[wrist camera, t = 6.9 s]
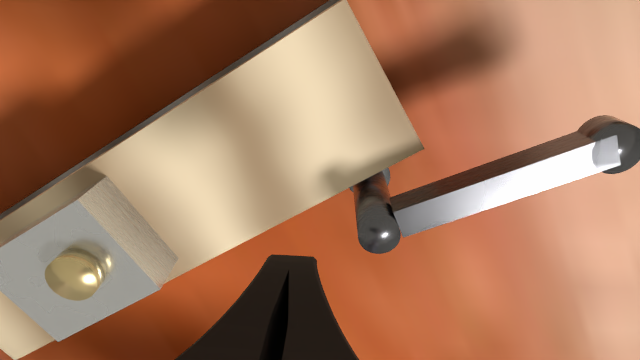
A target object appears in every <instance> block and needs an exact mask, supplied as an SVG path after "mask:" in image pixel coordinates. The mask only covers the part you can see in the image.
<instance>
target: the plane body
mask: <svg viewBox="0 0 640 360" xmlns="http://www.w3.org/2000/svg"><path fill="white" fill-rule="evenodd" d="M423 149H424V147H423V145H422V143H421V141H420V140H419V138H418V136H417V134H416V132H415V130H414V128H413V126H412V124H411V122H410V120H409V119H408V117H407V115H406V113H405V111H404V109H403V107H402V105H401V103H400V101H399V99H398V98H397V96H396V94H395V92H394V90H393V88H392V86H391V84H390V82H389V80H388V78H387V77H386V75H385V73H384V71H383V69H382V67H381V65H380V63H379V61H378V59H377V57H376V56H375V54H374V52H373V50H372V48H371V46H370V44H369V42H368V40H367V38H366V37H365V35H364V33H363V31H362V29H361V27H360V25H359V23H358V21H357V19H356V17H355V16H354V14H353V12H352V10H351V8H350V6H349V4H348V2H347V0H329V1H328V2H326V3H325V4H323V5H322V6H320V7H319V8H317V9H316V10H314V11H313V12H311V13H309V14H308V15H306V16H305V17H303V18H302V19H300V20H299V21H297V22H296V23H294V24H292V25H291V26H289V27H288V28H286V29H285V30H283V31H282V32H280V33H279V34H277V35H276V36H274V37H272V38H271V39H269V40H268V41H266V42H265V43H263V44H262V45H260V46H259V47H257V48H256V49H254V50H252V51H251V52H249V53H248V54H246V55H245V56H243V57H242V58H240V59H239V60H237V61H236V62H234V63H232V64H231V65H229V66H228V67H226V68H225V69H223V70H222V71H220V72H219V73H217V74H216V75H214V76H212V77H211V78H209V79H208V80H206V81H205V82H203V83H202V84H200V85H199V86H197V87H196V88H194V89H192V90H191V91H189V92H188V93H186V94H185V95H183V96H182V97H180V98H179V99H177V100H176V101H174V102H172V103H171V104H169V105H168V106H166V107H165V108H163V109H162V110H160V111H159V112H157V113H156V114H154V115H152V116H151V117H149V118H148V119H146V120H145V121H143V122H142V123H140V124H139V125H137V126H136V127H134V128H132V129H131V130H129V131H128V132H126V133H125V134H123V135H122V136H120V137H119V138H117V139H115V140H114V141H112V142H111V143H109V144H108V145H106V146H105V147H103V148H102V149H100V150H99V151H97V152H95V153H94V154H92V155H91V156H89V157H88V158H86V159H85V160H83V161H82V162H80V163H79V164H77V165H75V166H74V167H72V168H71V169H69V170H68V171H66V172H65V173H63V174H62V175H60V176H59V177H57V178H55V179H54V180H52V181H51V182H49V183H48V184H46V185H45V186H43V187H42V188H40V189H39V190H37V191H35V192H34V193H32V194H31V195H29V196H28V197H26V198H25V199H23V200H22V201H20V202H19V203H17V204H15V205H14V206H12V207H11V208H9V209H8V210H6V211H5V212H3V213H2V214H0V244H1V243H2V242H3V241H5V240H6V239H7V238H9V237H10V236H12V235H13V234H15V233H16V232H18V231H20V230H21V229H23V228H24V227H26V226H28V225H29V224H31V223H32V222H34V221H36V220H37V219H39V218H40V217H42V216H44V215H45V214H47V213H48V212H50V211H52V210H53V209H55V208H56V207H58V206H60V205H61V204H63V203H64V202H66V201H68V200H69V199H71V198H72V197H74V196H76V195H77V194H79V193H80V192H82V191H84V190H85V189H87V188H88V187H90V186H92V185H93V184H95V183H96V182H98V181H100V180H101V179H103V178H104V177H106V176H107V177H108V178H109V179H110V180H111V181H112V182H113V183H114V185H115V186H116V187H117V188H118V189H119V190H120V191H121V193H122V194H123V195H124V196H125V197H126V198H127V199H128V201H129V202H130V203H131V204H132V205H133V206H134V207H135V209H136V210H137V211H138V212H139V213H140V214H141V215H142V217H143V218H144V219H145V220H146V221H147V222H148V223H149V225H150V226H151V227H152V228H153V229H154V230H155V231H156V233H157V234H158V235H159V236H160V237H161V238H162V239H163V241H164V242H165V243H166V244H167V245H168V246H169V247H170V249H171V250H172V251H173V252H174V253H175V254H176V255H177V257H178V260H177V262H176V264H175V265H174V267H173V269H172V270H171V272H170V274H169V276H168V277H167V279H166V281H165V282H164V283H166V282H168V281H170V280H172V279H174V278H176V277H177V276H179V275H181V274H183V273H185V272H187V271H189V270H191V269H193V268H195V267H197V266H199V265H201V264H203V263H204V262H206V261H208V260H210V259H212V258H214V257H216V256H218V255H220V254H222V253H224V252H226V251H228V250H230V249H232V248H233V247H235V246H237V245H239V244H241V243H243V242H245V241H247V240H249V239H251V238H253V237H255V236H257V235H259V234H260V233H262V232H264V231H266V230H268V229H270V228H272V227H274V226H276V225H278V224H280V223H282V222H284V221H286V220H287V219H289V218H291V217H293V216H295V215H297V214H299V213H301V212H303V211H305V210H307V209H309V208H311V207H313V206H314V205H316V204H318V203H320V202H322V201H324V200H326V199H328V198H330V197H332V196H334V195H336V194H338V193H340V192H342V191H343V190H345V189H347V188H349V187H351V186H353V185H355V184H357V183H359V182H361V181H363V180H365V179H367V178H369V177H370V176H372V175H374V174H376V173H378V172H380V171H382V170H384V169H386V168H388V167H390V166H392V165H394V164H396V163H397V162H399V161H401V160H403V159H405V158H407V157H409V156H411V155H413V154H415V153H417V152H419V151H421V150H423ZM54 340H55V339H54V338H53V337H52V336H51V335H49V334H48V333H47V332H46V331H45V330H44V329H43V328H42V327H40V326H39V325H38V324H37V323H36V322H35V321H34V320H33V319H31V318H30V317H29V316H28V315H27V314H26V313H25V312H24V311H22V310H21V309H20V308H19V307H18V306H17V305H16V304H15V303H13V302H12V301H11V300H10V299H9V298H8V297H7V296H6V295H4V294H3V293H2V292H1V291H0V349H2V350H3V351H4V352H5V353H6V354H8V355H9V356H10V357H11V358H12V359H14V360H17V359H19V358H21V357H23V356H25V355H27V354H29V353H31V352H33V351H35V350H37V349H38V348H40V347H42V346H44V345H46V344H48V343H50V342H52V341H54Z"/></svg>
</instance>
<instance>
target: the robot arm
mask: <svg viewBox="0 0 640 360" xmlns="http://www.w3.org/2000/svg"><path fill="white" fill-rule="evenodd" d="M175 360H359V359H358V357H357V356H356V355H355V353H354V351H353V350H352V348H351V346H350V345H349V343H348V341H347V340H346V338H345V336H344V334H343V333H342V331H341V329H340V327H339V325H338V323H337V321H336V319H335V317H334V315H333V312H332V310H331V308H330V306H329V303H328V301H327V298H326V296H325V293H324V290H323V288H322V285H321V281H320V278H319V274H318V269H317V260H316V259H315V258H314V257H308V256H289V255H271V256H269V257H268V258H267V260H266V262H265V263H264V265H263V266H262V268H261V269H260V271H259V272H258V274H257V275H256V276H255V278H254V279H253V281H252V282H251V283H250V284H249V286H248V287H247V288H246V289H245V291H244V292H243V293H242V294H241V296H240V297H239V298H238V299H237V301H236V302H235V303H234V304H233V305H232V306H231V307H230V308H229V309H228V311H227V312H226V313H225V314H224V315H223V316H222V317H221V318H220V319H219V320H218V321H217V322H216V323H215V324H214V325H213V326H212V327H211V328H210V329H209V330H208V331H207V332H206V333H205V334H204V335H203V336H202V337H201V338H200V339H199V340H197V341H196V342H195V343H194V344H193V345H192V346H191V347H189V348H188V349H187V350H186V351H185V352H183V353H182V354H181V355H180V356H179V357H177V358H176V359H175Z"/></svg>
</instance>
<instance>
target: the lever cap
mask: <svg viewBox="0 0 640 360" xmlns="http://www.w3.org/2000/svg"><path fill="white" fill-rule="evenodd" d="M177 260H178V257H177V255H176V254H175V253H174V252H173V251H172V250H171V249H170V247H169V246H168V245H167V244H166V243H165V242H164V241H163V239H162V238H161V237H160V236H159V235H158V234H157V233H156V231H155V230H154V229H153V228H152V227H151V226H150V225H149V223H148V222H147V221H146V220H145V219H144V218H143V217H142V215H141V214H140V213H139V212H138V211H137V210H136V209H135V207H134V206H133V205H132V204H131V203H130V202H129V201H128V199H127V198H126V197H125V196H124V195H123V194H122V193H121V191H120V190H119V189H118V188H117V187H116V186H115V185H114V183H113V182H112V181H111V180H110V179H109V178H108V177H107V176H106V177H104V178H103V179H101V180H100V181H98V182H96V183H95V184H93V185H92V186H90V187H88V188H87V189H85V190H84V191H82V192H80V193H79V194H77V195H76V196H74V197H72V198H71V199H69V200H68V201H66V202H64V203H63V204H61V205H60V206H58V207H56V208H55V209H53V210H52V211H50V212H48V213H47V214H45V215H44V216H42V217H40V218H39V219H37V220H36V221H34V222H32V223H31V224H29V225H28V226H26V227H24V228H23V229H21V230H20V231H18V232H16V233H15V234H13V235H12V236H10V237H9V238H7V239H6V240H5V241H3V242H2V243H1V244H0V291H1V292H2V293H3V294H4V295H6V296H7V297H8V298H9V299H10V300H11V301H12V302H13V303H15V304H16V305H17V306H18V307H19V308H20V309H21V310H22V311H24V312H25V313H26V314H27V315H28V316H29V317H30V318H31V319H33V320H34V321H35V322H36V323H37V324H38V325H39V326H40V327H42V328H43V329H44V330H45V331H46V332H47V333H48V334H49V335H51V336H52V337H53V338H54V339H55V340H56V341H57V342H59V341H61V340H63V339H65V338H67V337H69V336H71V335H73V334H75V333H77V332H78V331H80V330H82V329H84V328H86V327H88V326H90V325H92V324H94V323H96V322H98V321H100V320H102V319H104V318H106V317H108V316H110V315H111V314H113V313H115V312H117V311H119V310H121V309H123V308H125V307H127V306H129V305H131V304H133V303H135V302H137V301H139V300H141V299H143V298H144V297H146V296H148V295H150V294H152V293H154V292H156V291H158V290H160V289H161V288H162V286H163V284H164V282H165V281H166V279H167V277H168V276H169V274H170V272H171V270H172V269H173V267H174V265H175V264H176V262H177Z"/></svg>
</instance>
